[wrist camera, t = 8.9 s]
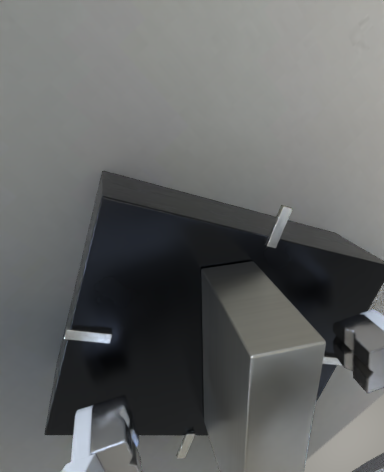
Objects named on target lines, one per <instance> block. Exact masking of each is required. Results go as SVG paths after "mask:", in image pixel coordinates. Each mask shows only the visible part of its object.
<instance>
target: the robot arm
mask: <svg viewBox="0 0 384 472" xmlns="http://www.w3.org/2000/svg"><path fill="white" fill-rule="evenodd" d="M333 332H334V333H335V334H336V337H335V338H334V340H333V349H334V352H335V355H336V357H337V359H338V360H339V362H340V363H341V364H342V365H343V367H344V368H346V369H349V370H351V371H353V378H354V379H355V380H356V381H357V382H358V383H359V385H360V386H361V387H362V388H363V389H364V390H365V391H366V392H367V393H370V392H373V391H376V390H379V389H382V388H384V315H382V314H381V313H380V312H378V311H377V310H374V309H372V310H369V311H366V312H363V313H361V314H357V315H355V316H352V317H349V318H346V319H343V320H341V321H338V322H335V323H334V325H333ZM138 444H139V437H138V430H137V425H136V421H135V418H134V415H133V412H132V411H130V410H129V403H128V400H127V398H126V396H125V395H123V396H120V397H116V398H113V399H110V400H107V401H104V402H100V403H97V404H94V405H92V406H89V407H85V408H82V409H79V410H77V412H76V415H75V423H74V433H73V444H72V454H71V462H70V463H68V464H66V465H65V466H64V468H63V470H62V471H61V472H142V466H141V457H140V454H139V452H138V449H137V446H138ZM375 472H384V468H382V469H380V470H377V471H375Z"/></svg>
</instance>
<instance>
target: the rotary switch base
mask: <svg viewBox="0 0 384 472" xmlns="http://www.w3.org/2000/svg"><path fill="white" fill-rule="evenodd" d="M292 210H293V209H292V208H291V207H288V206H284V205H281V207H280V209H279V212H278V214H277V216H276V217H274V216H271V215H267V214H263V213H259V212H256V211H252V210H248V209H245V208H241V207H237V206H233V205H230V204H226V203H222V202H218V201H215V200H211V199H207V198H204V197H200V196H196V195H192V194H189V193H185V192H181V191H177V190H174V189H170V188H166V187H162V186H159V185H155V184H151V183H148V182H144V181H140V180H136V179H133V178H129V177H125V176H121V175H118V174H114V173H110V172H107V171H102V175H101V179H100V183H99V187H98V192H97V196H96V200H95V204H94V209H93V213H92V217H91V221H90V225H89V230H88V234H87V238H86V242H85V247H84V251H83V255H82V259H81V264H80V268H79V272H78V276H77V281H76V285H75V289H74V293H73V298H72V302H71V306H70V310H69V314H68V319H67V323H66V327H65V331H64V336H63V340H62V344H61V348H60V353H59V357H58V361H57V366H56V372H55V377H54V383H53V388H52V394H51V400H50V405H49V411H48V417H47V422H46V428H45V435H73V433H74V423H75V415H76V412H77V410H79V409H82V408H85V407H89V406H92V405H94V404H97V403H100V402H104V401H107V400H110V399H113V398H116V397H120V396H123V395H125V396H126V398H127V400H128V403H129V410H130V411H132V412H133V415H134V418H135V421H136V425H137V430H138V435H185V436H184V438H183V440H182V443H181V445H180V447H179V450H178V452H177V455H176V456H177V458H185V457H186V455H187V452H188V450H189V448H190V445H191V443H192V441H193V438H194V436H195V435H208V432H207V429H206V426H205V423H204V388H203V334H202V279H201V270H202V269H203V268H210V267H217V266H224V265H231V264H237V263H244V262H251V261H253V262H254V263H255V264H256V265H257V266H258V267H259V268H260V269H261V270H262V271H263V272H264V274H265V275H266V276H267V277H268V278H269V279H270V280H271V281H272V282H273V284H274V285H275V286H276V287H277V288H278V289H279V290H280V291H281V292H282V293H283V295H284V296H285V297H286V298H287V299H288V300H289V301H290V302H291V303H292V304H293V306H294V307H295V308H296V309H297V310H298V311H299V312H300V313H301V314H302V315H303V317H304V318H305V319H306V320H307V321H308V322H309V323H310V324H311V325H312V326H313V328H314V329H315V330H316V331H317V332H318V333H319V334H320V335H321V336H322V337H323V339H324V340H325V341H326V346H325V352H324V358H323V363H322V369H321V375H320V381H319V387H318V393H317V398H316V402H317V400H318V398H319V396H320V394H321V393H322V391H323V389H324V387H325V386H326V384H327V382H328V380H329V378H330V377H331V375H332V373H333V371H334V370H335V368H336V366H337V365H342V364H341V363H340V362H339V360H338V359H337V357H336V355H335V352H334V349H333V340H334V338H335V337H336V334H335V333H334V332H333V325H334V323H335V322H338V321H341V320H343V319H346V318H349V317H352V316H355V315H357V314H361V313H363V312H366V311H368V309H369V307H370V306H371V304H372V302H373V300H374V299H375V297H376V295H377V293H378V291H379V290H380V288H381V286H382V284H383V283H384V261H382V260H381V259H379V258H377V257H376V256H374V255H372V254H370V253H369V252H367V251H365V250H364V249H362V248H360V247H359V246H357V245H355V244H353V243H352V242H350V241H348V240H347V239H345V238H343V237H342V236H340V235H338V234H336V233H334V232H330V231H327V230H323V229H319V228H315V227H312V226H308V225H304V224H300V223H297V222H293V221H289V220H288V219H289V217H290V214H291V212H292ZM342 366H343V365H342Z"/></svg>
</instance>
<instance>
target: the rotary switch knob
mask: <svg viewBox="0 0 384 472" xmlns="http://www.w3.org/2000/svg"><path fill="white" fill-rule="evenodd" d="M201 279H202V334H203V388H204V423H205V426H206V429H207V432H208V435H209V439H210V442H211V445H212V448H213V452H214V455H215V458H216V461H217V465H218V468H219V471H220V472H304V468H305V463H306V457H307V451H308V445H309V439H310V434H311V428H312V422H313V416H314V410H315V404H316V398H317V393H318V387H319V381H320V375H321V369H322V363H323V358H324V352H325V346H326V341H325V340H324V339H323V337H322V336H321V335H320V334H319V333H318V332H317V331H316V330H315V329H314V328H313V326H312V325H311V324H310V323H309V322H308V321H307V320H306V319H305V318H304V317H303V315H302V314H301V313H300V312H299V311H298V310H297V309H296V308H295V307H294V306H293V304H292V303H291V302H290V301H289V300H288V299H287V298H286V297H285V296H284V295H283V293H282V292H281V291H280V290H279V289H278V288H277V287H276V286H275V285H274V284H273V282H272V281H271V280H270V279H269V278H268V277H267V276H266V275H265V274H264V272H263V271H262V270H261V269H260V268H259V267H258V266H257V265H256V264H255V263H254V262H253V261H251V262H244V263H237V264H231V265H224V266H217V267H210V268H203V269H202V270H201Z"/></svg>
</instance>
